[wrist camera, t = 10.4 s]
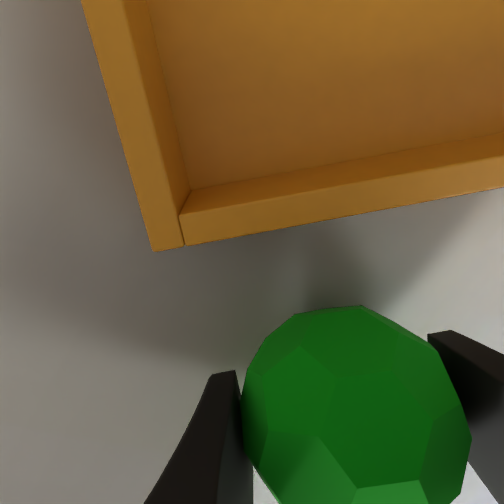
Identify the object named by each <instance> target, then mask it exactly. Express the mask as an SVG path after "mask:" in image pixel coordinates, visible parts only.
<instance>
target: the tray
mask: <svg viewBox="0 0 504 504" xmlns="http://www.w3.org/2000/svg"><path fill="white" fill-rule="evenodd" d="M81 4H82V7H83V11H84V14H85V18H86V21H87V24H88V28H89V31H90V35H91V38H92V42H93V45H94V49H95V52H96V56H97V59H98V63H99V66H100V70H101V73H102V77H103V80H104V84H105V87H106V91H107V94H108V98H109V101H110V105H111V108H112V112H113V115H114V119H115V122H116V126H117V129H118V133H119V136H120V140H121V143H122V147H123V150H124V154H125V157H126V160H127V164H128V167H129V171H130V174H131V178H132V181H133V185H134V188H135V192H136V195H137V199H138V202H139V206H140V209H141V213H142V216H143V220H144V223H145V227H146V230H147V234H148V237H149V241H150V244H151V248H152V250H153V252H159V251H164V250H170V249H175V248H180V247H183V246H185V245H186V246H192V245H197V244H203V243H208V242H213V241H219V240H224V239H229V238H235V237H240V236H245V235H251V234H256V233H261V232H267V231H272V230H277V229H283V228H288V227H294V226H299V225H304V224H310V223H315V222H320V221H326V220H331V219H336V218H342V217H347V216H352V215H358V214H363V213H368V212H374V211H379V210H385V209H390V208H395V207H401V206H406V205H411V204H417V203H422V202H427V201H433V200H438V199H443V198H449V197H454V196H459V195H465V194H470V193H476V192H481V191H486V190H492V189H497V188H502V187H504V0H81Z"/></svg>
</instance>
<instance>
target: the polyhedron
mask: <svg viewBox="0 0 504 504" xmlns="http://www.w3.org/2000/svg"><path fill="white" fill-rule="evenodd" d="M240 410H241V419H242V430H243V447H244V452H245V454H246V455H247V457H248V458H249V460H250V461H251V463H252V465H253V466H254V468H255V469H256V471H257V472H258V474H259V475H260V477H261V479H262V480H263V482H264V483H265V484H266V486H267V487H268V489H269V490H270V491H271V493H272V494H273V496H274V497H275V499H276V500H277V501H278V503H279V504H450V503H451V502H452V501H453V500H454V499H455V498H456V497H457V496H458V495H459V494H460V493H461V488H462V484H463V479H464V474H465V470H466V465H467V461H468V456H469V452H470V447H471V442H472V436H471V433H470V429H469V426H468V423H467V420H466V417H465V414H464V411H463V408H462V405H461V402H460V400H459V398H458V395H457V393H456V391H455V389H454V387H453V384H452V382H451V380H450V378H449V375H448V373H447V371H446V369H445V367H444V364H443V362H442V360H441V358H440V356H439V353H438V352H437V350H436V349H435V348H434V347H433V346H432V345H431V344H430V343H428V342H426V341H425V340H423V339H421V338H420V337H418V336H416V335H415V334H413V333H412V332H410V331H408V330H407V329H405V328H403V327H402V326H400V325H398V324H397V323H395V322H393V321H392V320H390V319H388V318H386V317H384V316H382V315H380V314H378V313H376V312H374V311H372V310H370V309H368V308H366V307H364V306H362V305H359V306H348V307H337V308H326V309H320V310H314V311H309V312H304V313H299V314H294V315H293V316H292V317H291V318H289V319H288V320H287V321H286V322H285V323H283V324H282V325H281V326H280V327H279V328H277V329H276V330H275V331H274V332H272V333H271V334H270V335H269V336H268V337H266V338H265V340H264V342H263V343H262V345H261V347H260V348H259V350H258V352H257V354H256V355H255V357H254V359H253V360H252V362H251V364H250V366H249V367H248V369H247V373H246V377H245V382H244V386H243V390H242V395H241V399H240Z"/></svg>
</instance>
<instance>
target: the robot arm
mask: <svg viewBox="0 0 504 504" xmlns="http://www.w3.org/2000/svg"><path fill="white" fill-rule="evenodd" d="M427 340H428V343H430V344H431V345H432V346H433V347H434V348H435V349H436V350H437V352H438V353H439V356H440V358H441V360H442V362H443V364H444V367H445V369H446V371H447V373H448V375H449V378H450V380H451V382H452V384H453V387H454V389H455V391H456V393H457V395H458V398H459V400H460V402H461V405H462V408H463V411H464V414H465V417H466V420H467V423H468V426H469V429H470V433H471V436H472V442H471V447H470V452H469V456H468V462H469V464H470V465H471V466H472V468H473V469H474V470H475V472H476V473H477V475H478V476H479V477H480V479H481V480H482V481H483V483H484V484H485V486H486V487H487V488H488V490H489V491H490V493H491V494H492V495H493V497H494V498H495V499H496V501H497V502H498V504H504V355H503V354H501V353H499V352H497V351H495V350H493V349H491V348H489V347H487V346H485V345H483V344H481V343H479V342H476V341H474V340H472V339H470V338H468V337H466V336H464V335H461V334H459V333H457V332H454V331H452V330H448V331H442V332H437V333H432V334H427ZM240 399H241V393H240V389H239V385H238V380H237V376H236V372H235V370H232V371H226V372H221V373H216V374H212V375H211V376H210V378H209V379H208V382H207V384H206V387H205V389H204V392H203V394H202V396H201V399H200V401H199V403H198V405H197V408H196V410H195V412H194V414H193V416H192V418H191V420H190V422H189V424H188V426H187V428H186V430H185V432H184V434H183V436H182V438H181V440H180V442H179V444H178V446H177V448H176V450H175V452H174V453H173V455H172V457H171V459H170V460H169V462H168V464H167V466H166V467H165V469H164V471H163V473H162V474H161V476H160V478H159V480H158V481H157V483H156V485H155V486H154V488H153V489H152V491H151V493H150V494H149V496H148V497H147V499H146V501H145V502H144V504H253V465H252V463H251V461H250V460H249V458H248V457H247V455H246V454H245V452H244V447H243V430H242V419H241V410H240Z"/></svg>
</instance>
